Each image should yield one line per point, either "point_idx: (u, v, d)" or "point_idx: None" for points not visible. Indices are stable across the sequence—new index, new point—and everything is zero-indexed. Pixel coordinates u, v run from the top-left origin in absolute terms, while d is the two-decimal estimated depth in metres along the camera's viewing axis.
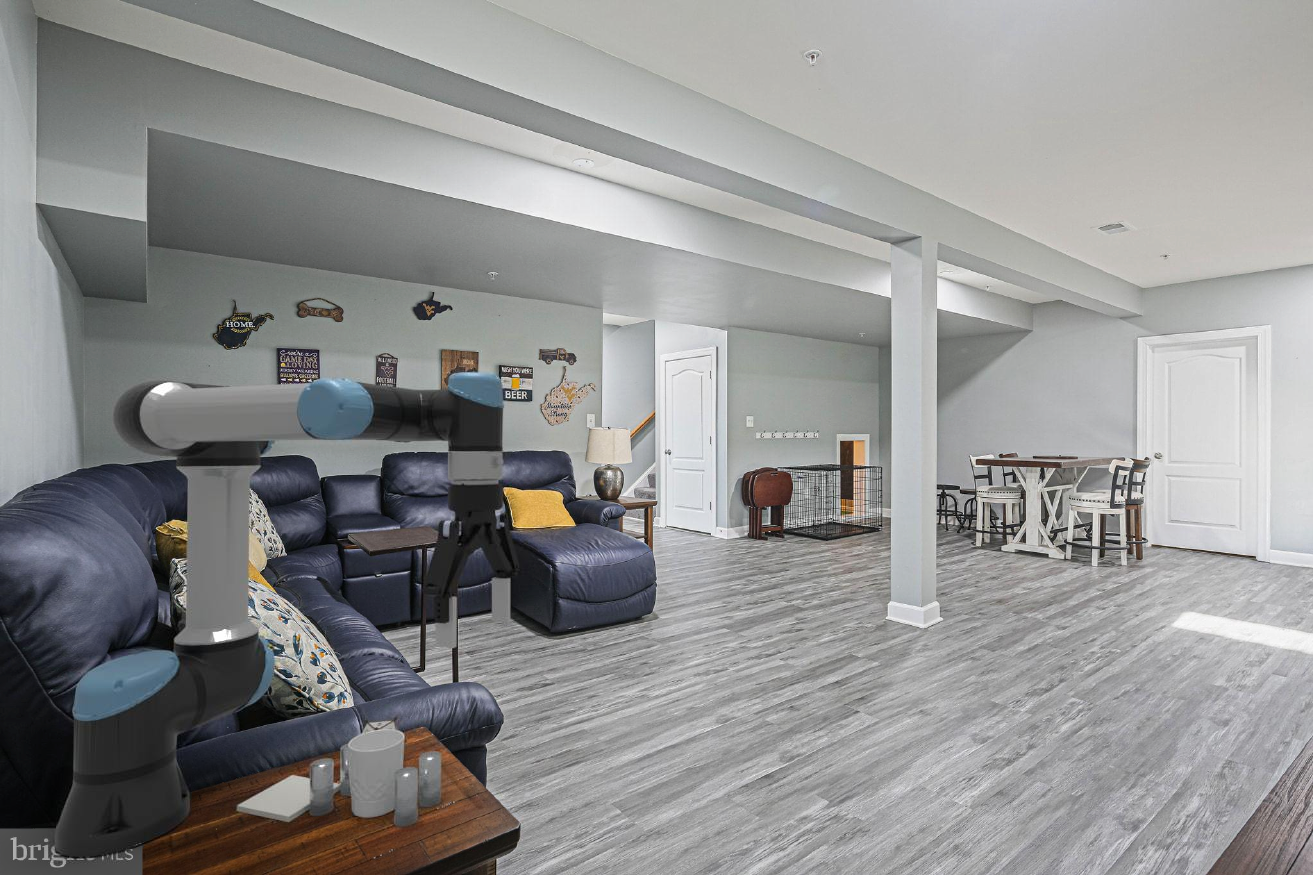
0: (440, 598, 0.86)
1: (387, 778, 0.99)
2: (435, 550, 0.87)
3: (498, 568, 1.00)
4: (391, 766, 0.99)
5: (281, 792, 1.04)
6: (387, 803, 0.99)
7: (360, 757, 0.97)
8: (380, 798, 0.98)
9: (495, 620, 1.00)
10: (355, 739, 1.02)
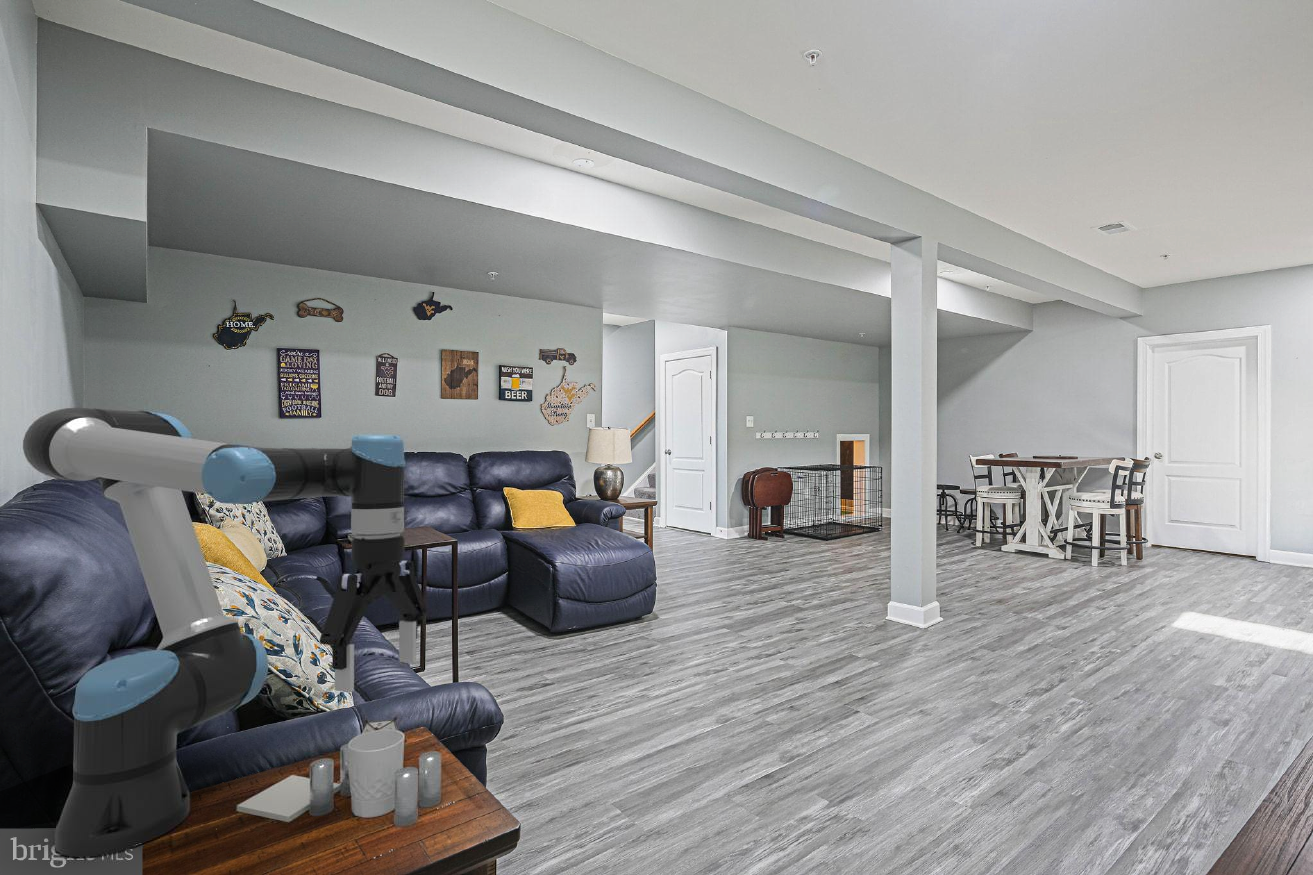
0: (337, 646, 0.93)
1: (387, 778, 0.99)
2: (333, 602, 0.95)
3: (404, 612, 1.08)
4: (391, 766, 0.99)
5: (281, 792, 1.04)
6: (388, 803, 0.99)
7: (360, 757, 0.97)
8: (380, 798, 0.98)
9: (402, 660, 1.08)
10: (355, 739, 1.02)
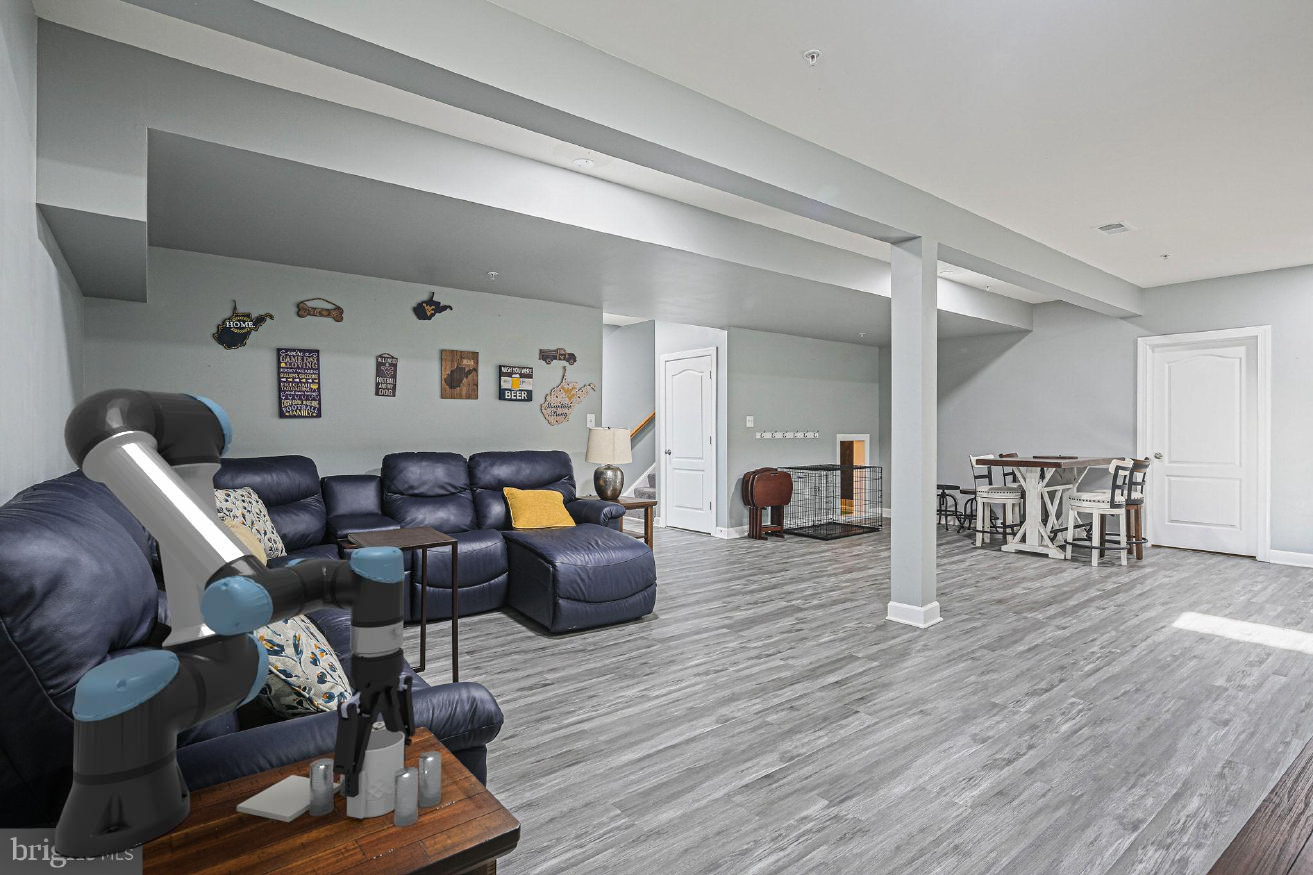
0: (349, 775, 0.95)
1: (387, 778, 0.99)
2: (338, 732, 0.95)
3: None
4: (392, 766, 0.99)
5: (281, 792, 1.04)
6: (388, 803, 0.99)
7: None
8: (380, 798, 0.98)
9: None
10: None
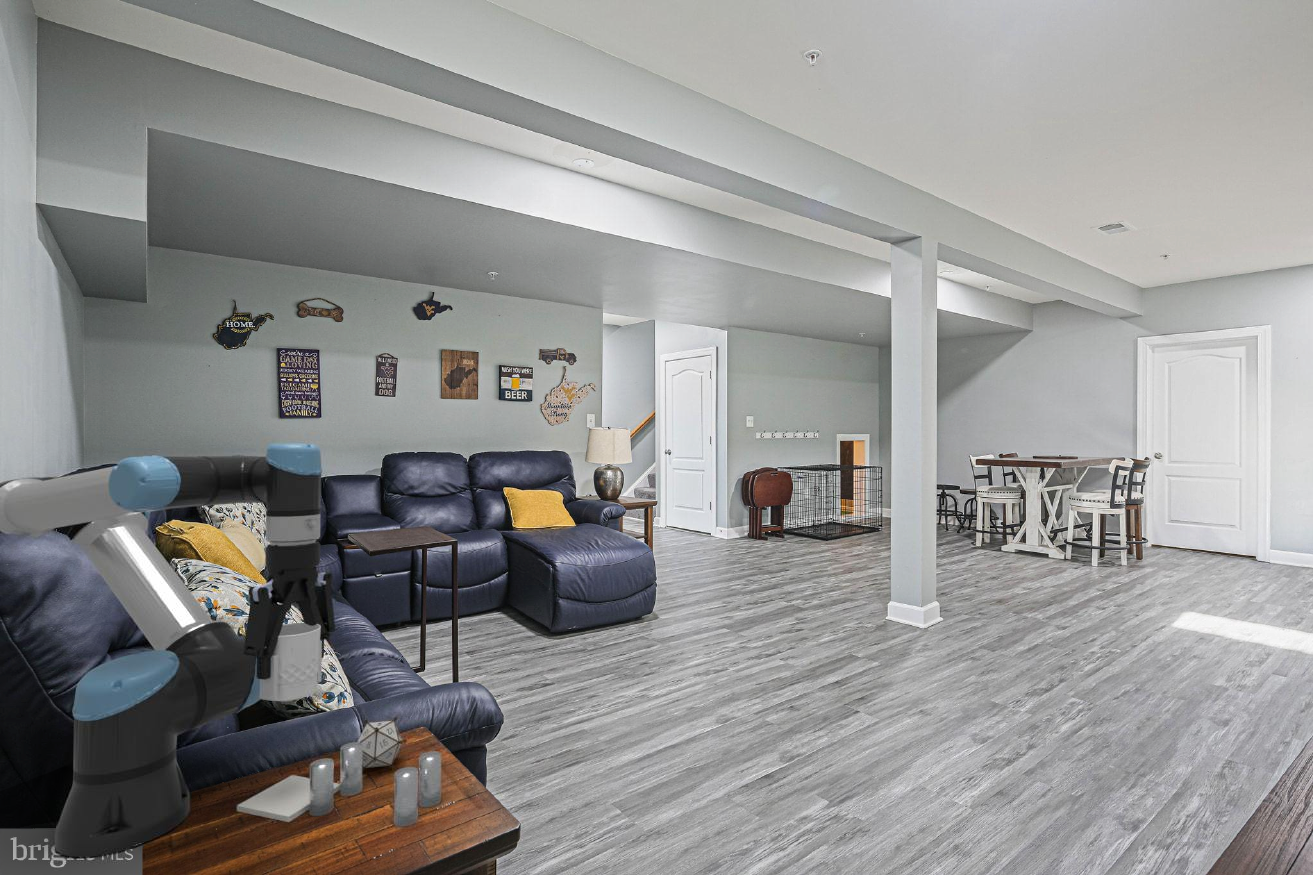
0: (261, 657, 0.98)
1: (300, 664, 1.01)
2: (249, 615, 0.98)
3: None
4: (305, 653, 1.01)
5: (281, 792, 1.04)
6: (301, 689, 1.01)
7: None
8: (293, 683, 1.00)
9: None
10: None
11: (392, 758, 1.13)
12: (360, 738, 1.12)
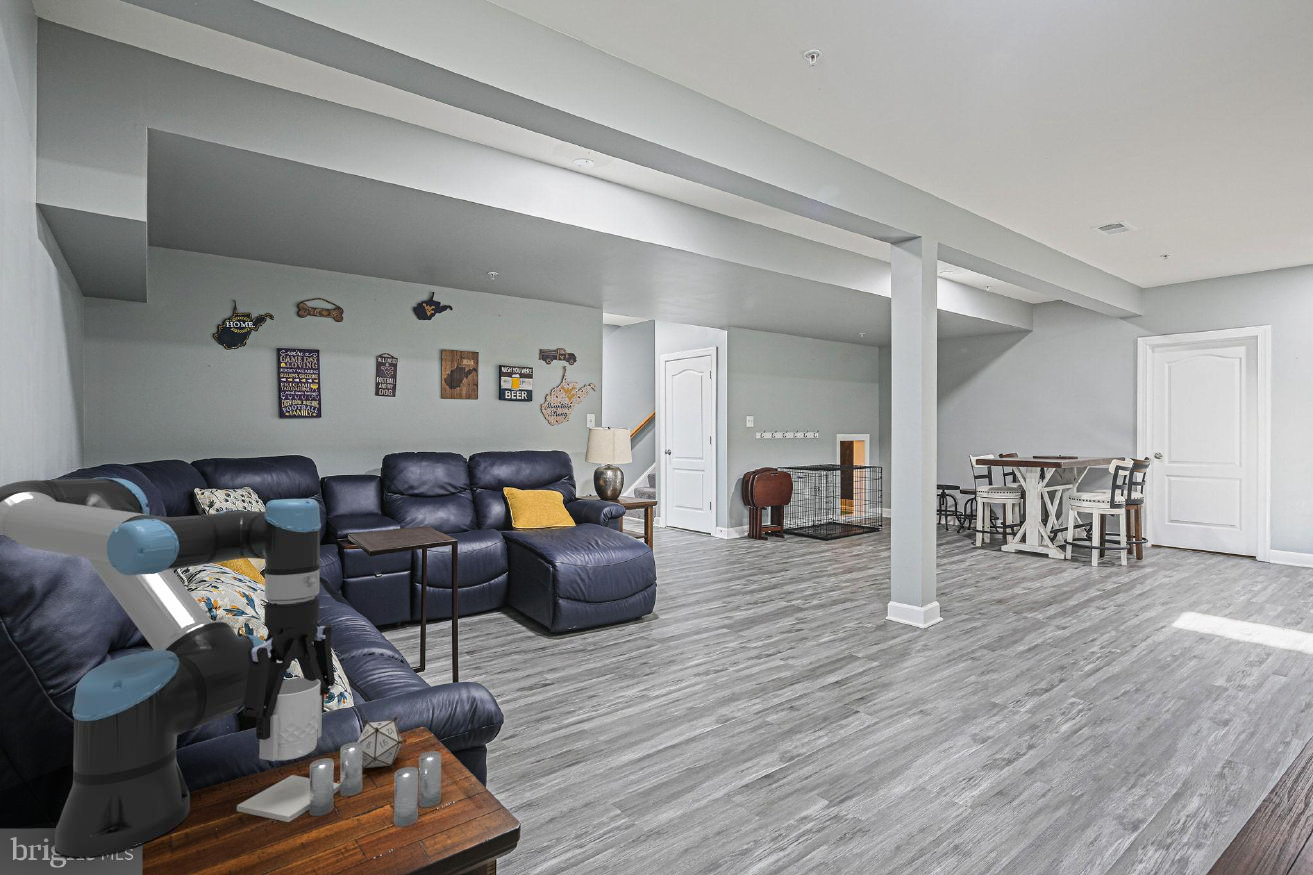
0: (260, 718, 0.98)
1: (300, 722, 1.01)
2: (249, 675, 0.97)
3: None
4: (305, 710, 1.01)
5: (281, 792, 1.04)
6: (301, 747, 1.01)
7: None
8: (293, 742, 1.00)
9: None
10: None
11: (392, 758, 1.13)
12: (360, 738, 1.12)
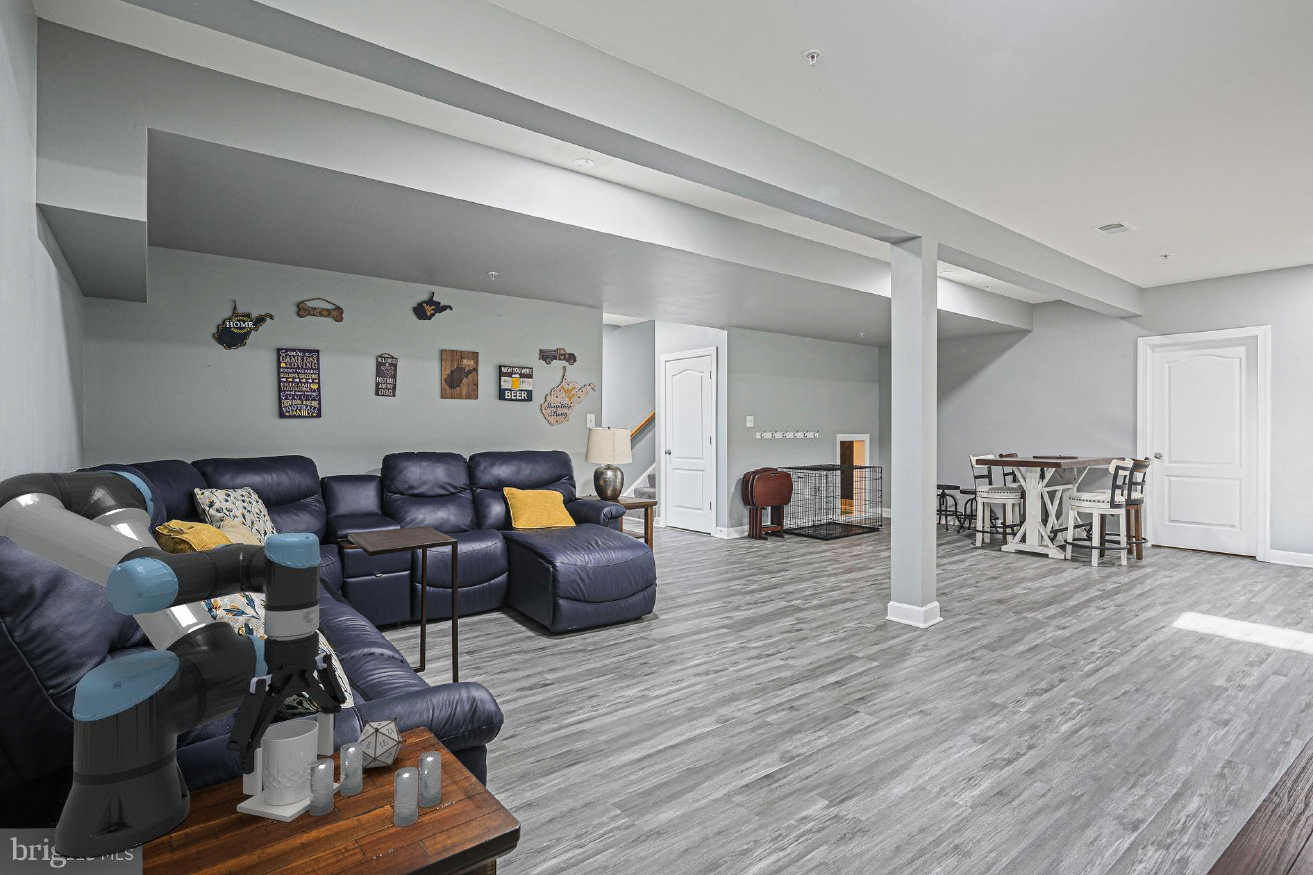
0: (244, 752, 0.95)
1: (298, 767, 1.00)
2: (241, 707, 0.96)
3: (321, 705, 1.09)
4: (303, 755, 1.01)
5: None
6: (299, 792, 1.01)
7: (270, 746, 0.99)
8: (290, 787, 1.00)
9: (319, 752, 1.09)
10: (269, 729, 1.04)
11: (392, 758, 1.13)
12: (360, 738, 1.12)
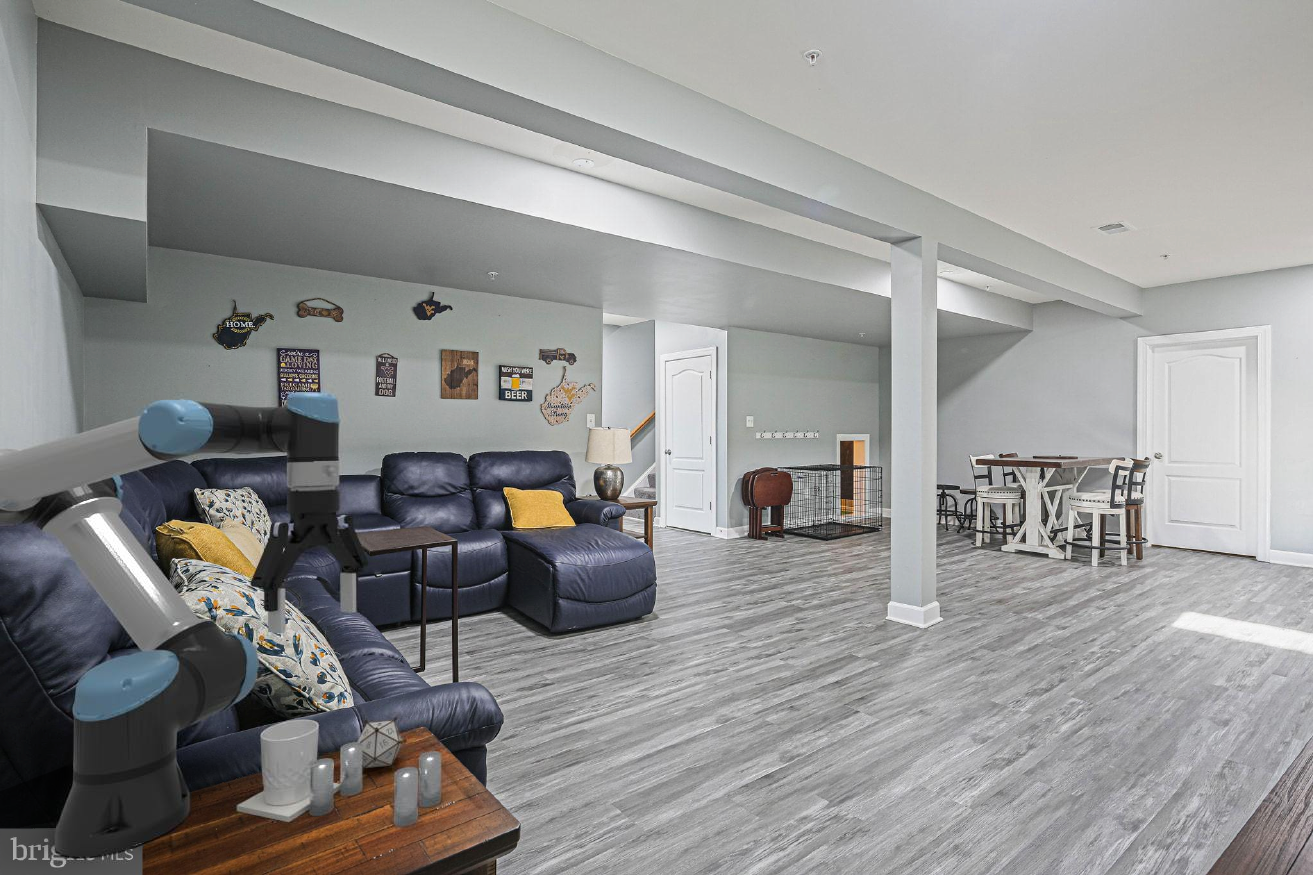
0: (267, 590, 0.99)
1: (298, 767, 1.00)
2: (265, 548, 1.00)
3: (344, 564, 1.13)
4: (303, 755, 1.01)
5: None
6: (299, 792, 1.01)
7: (270, 746, 0.99)
8: (290, 787, 1.00)
9: (343, 610, 1.13)
10: (269, 729, 1.04)
11: (392, 758, 1.13)
12: (360, 738, 1.12)
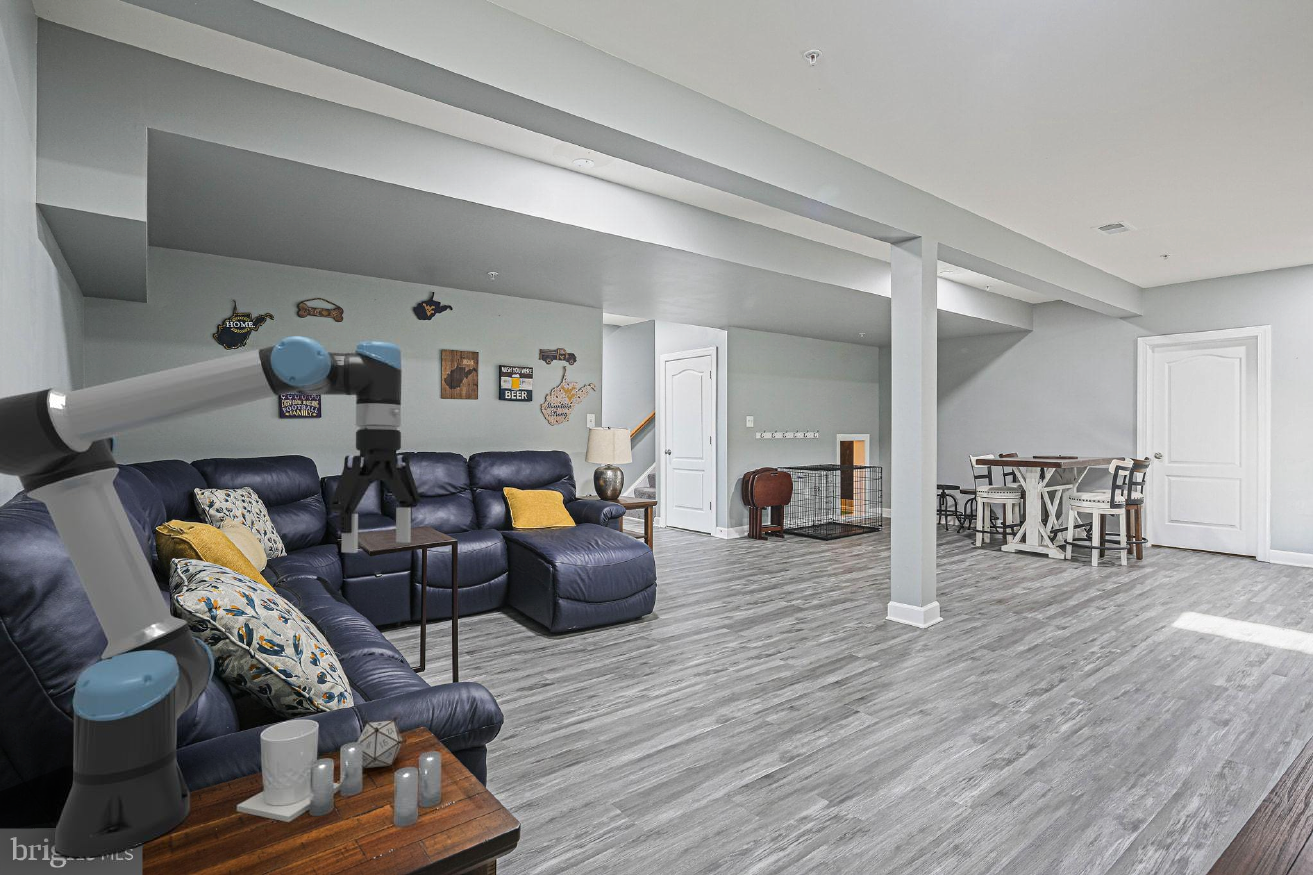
0: (344, 513, 1.12)
1: (298, 767, 1.00)
2: (341, 477, 1.13)
3: (401, 499, 1.26)
4: (303, 755, 1.01)
5: None
6: (299, 792, 1.01)
7: (270, 747, 0.99)
8: (290, 787, 1.00)
9: (398, 541, 1.26)
10: (269, 729, 1.04)
11: (392, 758, 1.13)
12: (360, 738, 1.12)
